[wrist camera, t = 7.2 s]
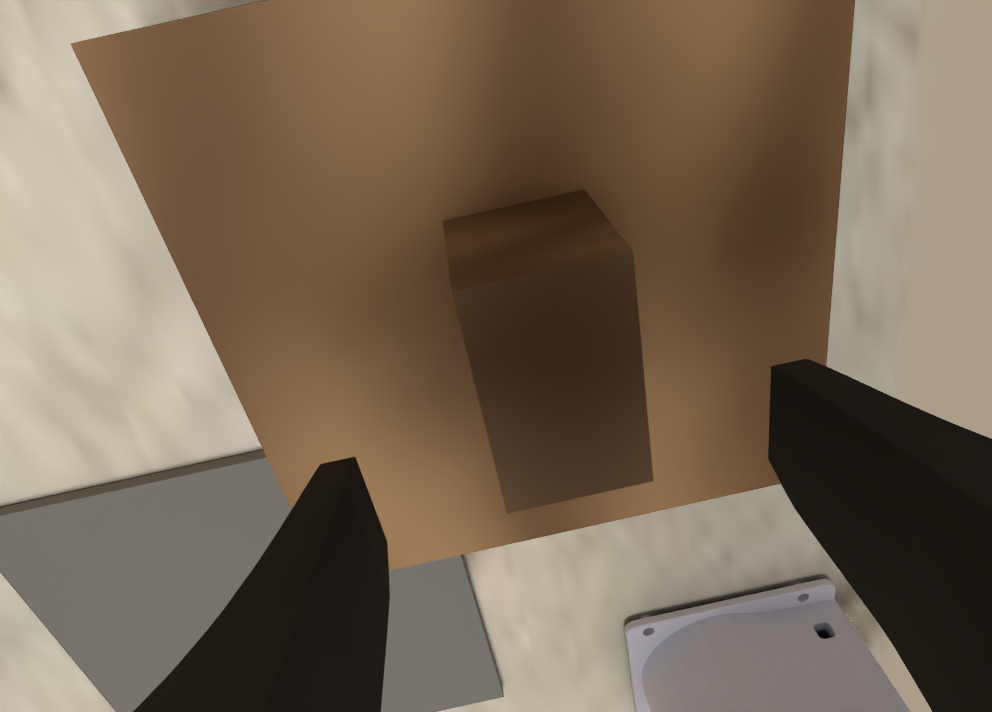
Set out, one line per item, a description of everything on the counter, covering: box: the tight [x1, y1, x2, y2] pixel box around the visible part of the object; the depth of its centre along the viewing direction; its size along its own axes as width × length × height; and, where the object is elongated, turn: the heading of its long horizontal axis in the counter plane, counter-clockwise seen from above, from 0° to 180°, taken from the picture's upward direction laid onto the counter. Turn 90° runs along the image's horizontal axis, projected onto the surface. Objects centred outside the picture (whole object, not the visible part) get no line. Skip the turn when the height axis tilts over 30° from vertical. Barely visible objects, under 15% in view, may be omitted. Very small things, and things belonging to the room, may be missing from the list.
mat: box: [0, 450, 504, 712], centre depth 27 cm, size 16×16×1 cm
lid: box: [71, 0, 855, 571], centre depth 14 cm, size 14×14×4 cm
